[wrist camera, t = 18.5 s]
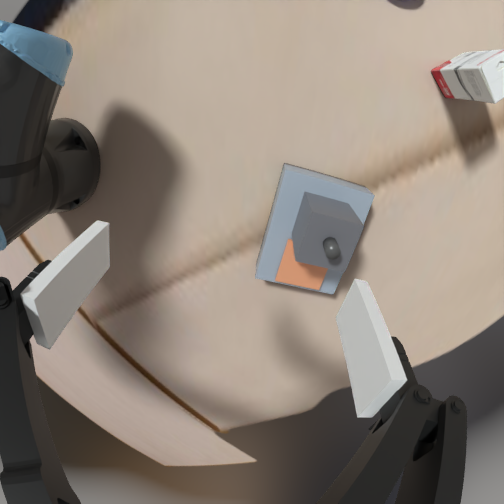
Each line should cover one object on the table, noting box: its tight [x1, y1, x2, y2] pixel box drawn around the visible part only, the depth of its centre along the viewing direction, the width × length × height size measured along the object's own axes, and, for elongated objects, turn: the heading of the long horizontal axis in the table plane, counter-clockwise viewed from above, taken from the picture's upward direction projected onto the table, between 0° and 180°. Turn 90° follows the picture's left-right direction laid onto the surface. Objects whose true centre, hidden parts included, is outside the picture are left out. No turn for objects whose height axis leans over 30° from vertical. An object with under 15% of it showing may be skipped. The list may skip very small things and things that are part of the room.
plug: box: [292, 191, 364, 272], centre depth 35 cm, size 6×6×12 cm
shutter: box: [275, 239, 328, 290], centre depth 39 cm, size 7×7×3 cm
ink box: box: [431, 50, 504, 104], centre depth 24 cm, size 9×5×12 cm, turn 128°
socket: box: [255, 163, 374, 294], centre depth 40 cm, size 12×16×4 cm
